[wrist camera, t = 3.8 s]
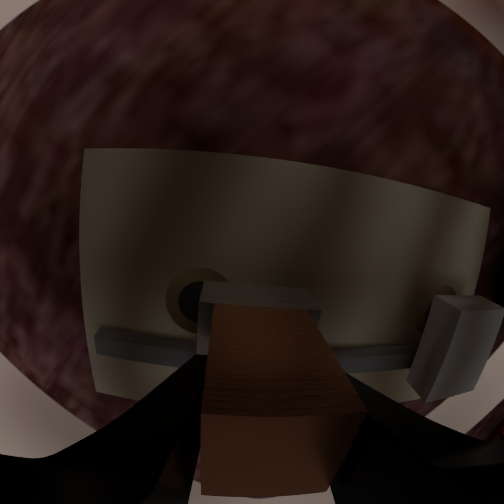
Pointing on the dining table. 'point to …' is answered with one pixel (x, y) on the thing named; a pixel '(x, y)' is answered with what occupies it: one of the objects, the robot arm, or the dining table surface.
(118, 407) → the dining table surface
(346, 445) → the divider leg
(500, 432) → the canned food
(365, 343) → the board
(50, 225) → the dining table surface
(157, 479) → the robot arm
